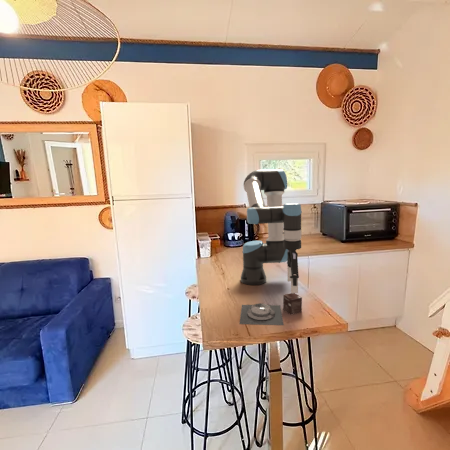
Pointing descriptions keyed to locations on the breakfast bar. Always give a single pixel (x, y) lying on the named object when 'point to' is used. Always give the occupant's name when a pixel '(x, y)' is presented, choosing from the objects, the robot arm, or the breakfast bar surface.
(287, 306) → the box
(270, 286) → the breakfast bar surface
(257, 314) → the metal bowl
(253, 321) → the mat
